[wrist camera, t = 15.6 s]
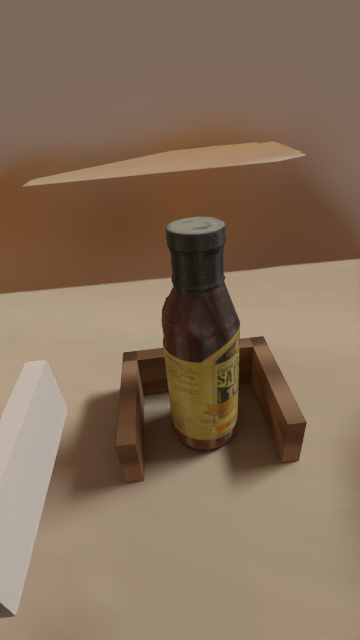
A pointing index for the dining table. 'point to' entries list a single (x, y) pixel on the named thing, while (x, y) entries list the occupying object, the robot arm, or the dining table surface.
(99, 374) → the dining table surface
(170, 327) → the sauce bottle
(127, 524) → the dining table surface
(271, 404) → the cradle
